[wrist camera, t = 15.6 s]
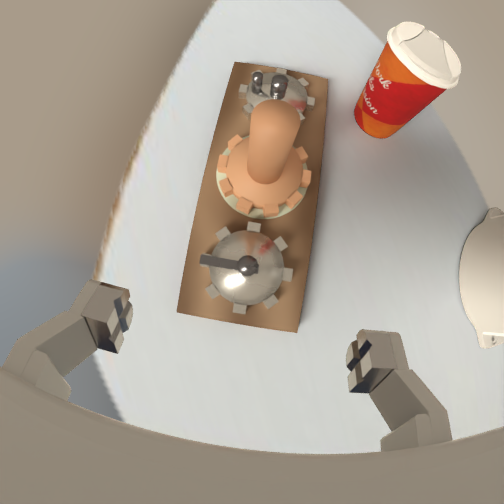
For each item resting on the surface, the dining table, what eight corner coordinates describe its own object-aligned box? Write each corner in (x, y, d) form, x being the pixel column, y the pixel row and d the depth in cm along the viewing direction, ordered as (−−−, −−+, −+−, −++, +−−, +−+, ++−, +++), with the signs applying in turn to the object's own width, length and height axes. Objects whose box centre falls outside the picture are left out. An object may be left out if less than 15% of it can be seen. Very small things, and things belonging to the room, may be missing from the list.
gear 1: (314, 82, 29) (322, 61, 26) (308, 137, 28) (317, 118, 25) (246, 69, 29) (247, 47, 25) (232, 123, 28) (231, 102, 24)
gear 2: (296, 233, 27) (304, 225, 24) (282, 319, 26) (289, 324, 23) (210, 217, 27) (206, 207, 23) (194, 303, 26) (187, 306, 22)
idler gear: (311, 144, 28) (341, 86, 18) (301, 224, 27) (335, 191, 17) (228, 129, 28) (224, 64, 18) (210, 208, 27) (195, 165, 17)
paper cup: (357, 84, 31) (400, 8, 17) (408, 116, 31) (467, 54, 17) (335, 123, 30) (383, 41, 17) (392, 159, 30) (463, 97, 16)
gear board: (324, 86, 31) (328, 78, 29) (294, 330, 28) (297, 333, 26) (234, 69, 31) (234, 61, 29) (179, 310, 27) (176, 312, 26)
